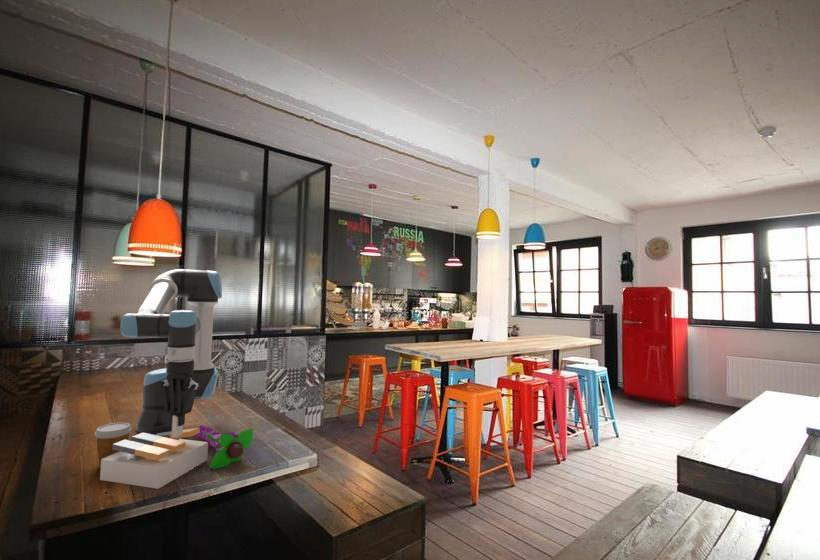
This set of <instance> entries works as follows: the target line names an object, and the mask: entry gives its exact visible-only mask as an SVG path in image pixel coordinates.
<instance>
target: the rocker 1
mask: <svg viewBox="0 0 820 560" xmlns="http://www.w3.org/2000/svg"><path fill="white" fill-rule="evenodd" d="M112 450H116V451H120V452H124V453H129V454H133V455H137V456H141V457H146V458H150V459H154V460H159V459H161V458H163V457H165V456H167V455H169V449H164V448H160V447H156V446H151V445H147V444H143V443H138V442H134V441H131V440H129V439H128V440H122V441H120V442H117V443H114V444H113V446H112Z"/></svg>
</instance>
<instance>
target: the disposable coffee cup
mask: <svg viewBox="0 0 820 560" xmlns="http://www.w3.org/2000/svg"><path fill="white" fill-rule="evenodd" d="M132 429H133V427H131V424H130V422H129V423H128V422H113V423H108V424H103V425H101V426H99V427H97V428H96V430H95V432H94V436H95V437H96V448H97V458H98V468H99V469H101V459H103V458H105V457H108V456H110V455H113V454H115V453H117V452H120V451H116V450H112V446H113V444H114V443H117V442H120V441H122V440H129V438H130V433H131V431H132Z"/></svg>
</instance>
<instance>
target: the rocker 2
mask: <svg viewBox="0 0 820 560" xmlns="http://www.w3.org/2000/svg"><path fill="white" fill-rule="evenodd" d="M198 433H200V428H199V427H194V428H193V427H192V428H186V429H183V431H182V435H180V436H178V437H172V430H169V431H164V432H158V433H154V435H157V436H161V437H166V438H170V439H176V438H179V439H184V438H190V437H194V436H195V434H198Z"/></svg>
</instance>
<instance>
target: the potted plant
mask: <svg viewBox="0 0 820 560" xmlns="http://www.w3.org/2000/svg"><path fill="white" fill-rule="evenodd" d="M198 428H200V433H198V434H195V435H194V436H195V437H197V438H198V437H199V438H200V439H203V440H204V441H206V442H209V443H208V446H212V447H214V449H215V454H214V456H213V459H212V461H211V463H210V465H209V469H210V468H213V469H217V468H223V467H224V468H225V467H227V466H228V465H230V463H231V462H232V463H233V462H238V461H241V460H242V455H243V454H244V451H245V450H246V449H249V447H250V445H251V444H252V440H253V434H254V431H253V428H248V429H245V430H243V431H240V433H238V434H236V433H235V432H234V431H230V432H227V433H223V434H222V433H219V432H218V431H217V432H216V431H215V430H213V429H212V428H210V427H208V428H207V426H205V425H203V424H201V425H200V426H199V427H198ZM210 438H211V439H210ZM215 441H217V442H215ZM219 444H221V446H222V448H220V447H217V446H218V445H219Z"/></svg>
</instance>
